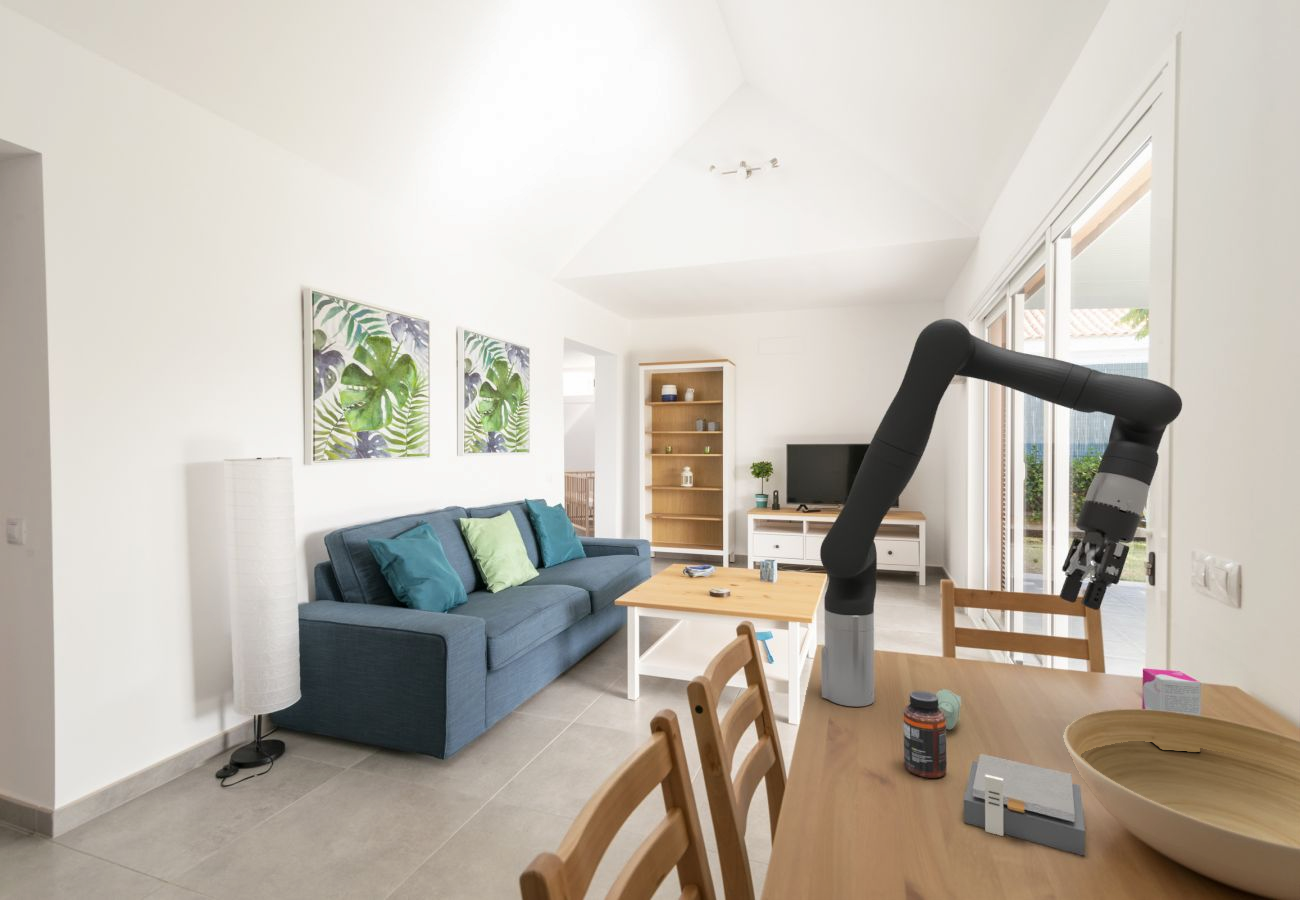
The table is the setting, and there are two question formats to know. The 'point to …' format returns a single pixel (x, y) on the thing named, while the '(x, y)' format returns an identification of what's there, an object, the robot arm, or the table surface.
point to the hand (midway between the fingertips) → (1077, 604)
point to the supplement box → (1171, 692)
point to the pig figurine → (949, 706)
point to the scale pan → (1028, 787)
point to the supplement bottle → (924, 736)
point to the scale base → (1023, 817)
